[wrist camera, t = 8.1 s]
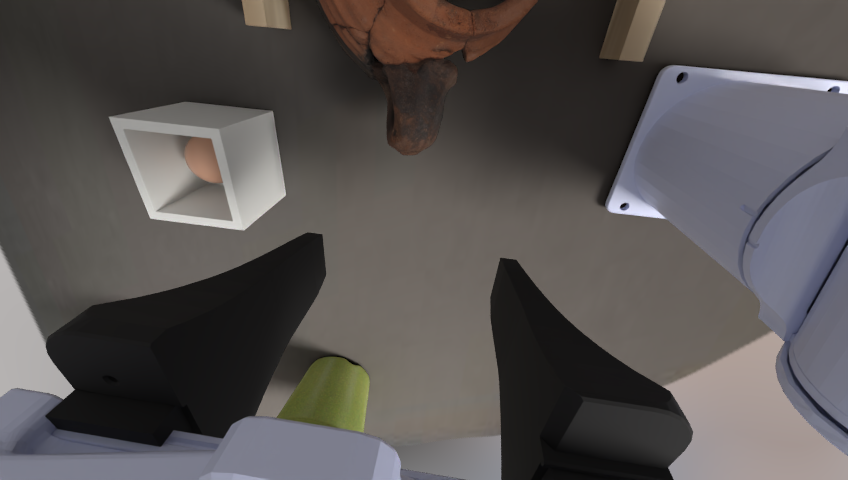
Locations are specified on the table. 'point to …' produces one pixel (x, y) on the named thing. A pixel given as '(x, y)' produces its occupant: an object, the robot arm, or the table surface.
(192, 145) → the terracotta bead
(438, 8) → the brown hollow curved piece
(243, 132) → the white square open box
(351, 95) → the table surface
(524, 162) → the table surface
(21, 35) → the table surface
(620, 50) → the birch bay
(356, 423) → the plant pot
